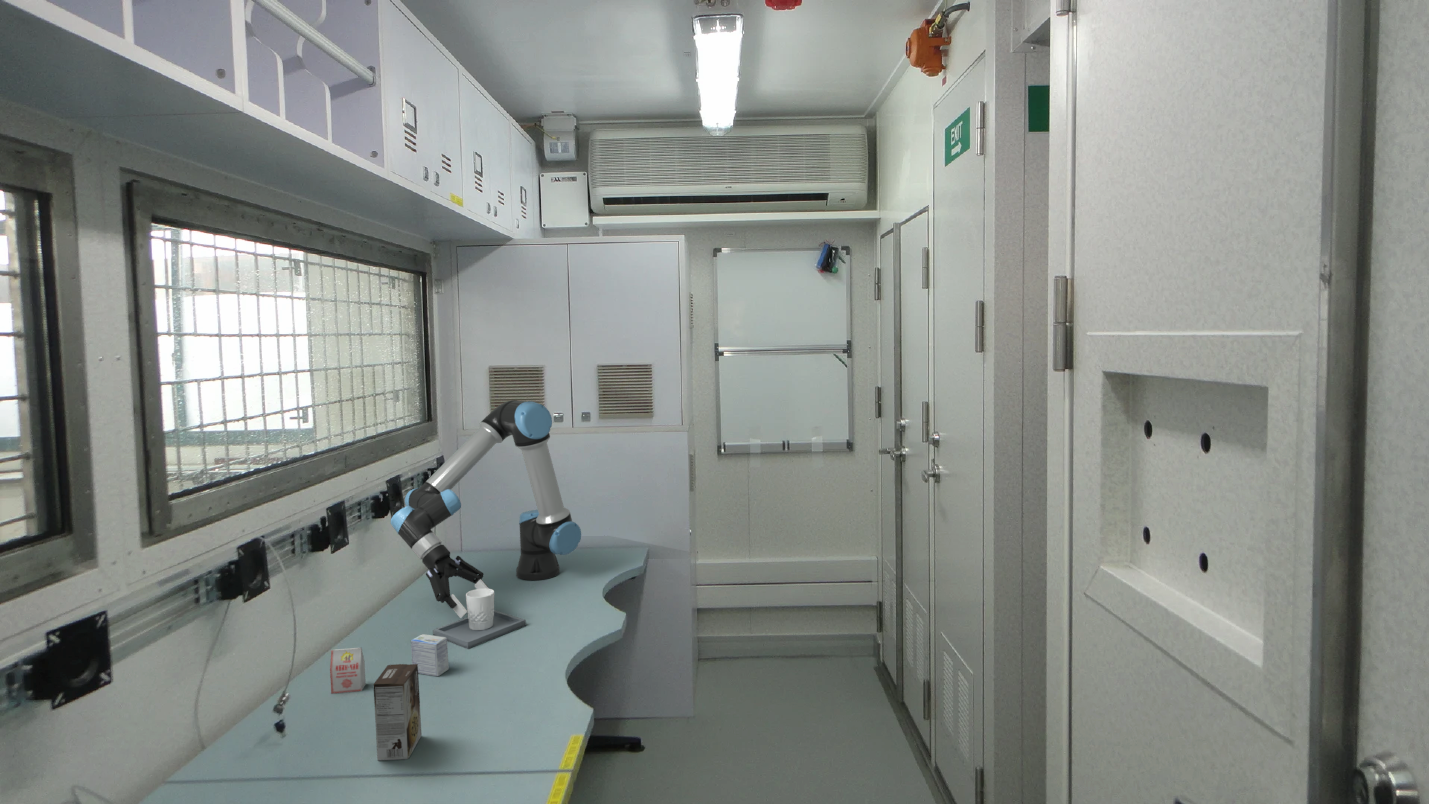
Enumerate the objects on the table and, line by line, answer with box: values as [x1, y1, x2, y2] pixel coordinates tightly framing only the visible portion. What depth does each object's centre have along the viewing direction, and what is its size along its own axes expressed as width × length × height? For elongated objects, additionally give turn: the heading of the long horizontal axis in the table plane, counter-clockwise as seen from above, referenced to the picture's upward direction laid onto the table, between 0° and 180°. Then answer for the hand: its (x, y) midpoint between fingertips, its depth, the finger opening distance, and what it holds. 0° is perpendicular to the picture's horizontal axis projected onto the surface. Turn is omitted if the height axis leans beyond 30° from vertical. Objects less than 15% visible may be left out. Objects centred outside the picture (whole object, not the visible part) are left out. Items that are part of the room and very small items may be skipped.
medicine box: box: [410, 633, 450, 677], centre depth 191 cm, size 8×4×9 cm, turn 71°
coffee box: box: [372, 663, 422, 761], centre depth 155 cm, size 9×6×16 cm
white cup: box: [465, 588, 495, 630], centre depth 220 cm, size 8×8×10 cm
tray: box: [432, 609, 527, 650], centre depth 218 cm, size 20×16×2 cm
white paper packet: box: [329, 647, 367, 695], centre depth 182 cm, size 4×7×10 cm, turn 100°
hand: (478, 606), depth 219 cm, fingers open, 13 cm apart
